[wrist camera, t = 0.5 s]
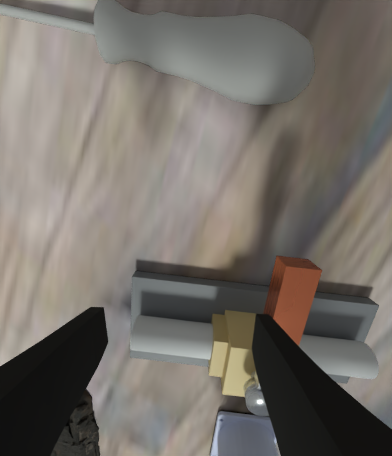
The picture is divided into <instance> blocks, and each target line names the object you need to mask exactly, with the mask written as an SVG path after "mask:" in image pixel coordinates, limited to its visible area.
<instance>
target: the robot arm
mask: <svg viewBox="0 0 392 456" xmlns="http://www.w3.org/2000/svg"><path fill="white" fill-rule="evenodd" d="M107 344H108V337H107V329H106V321H105V314H104V307H90V308H89V309H87V310H86V311H84V312H82V313H81V314H79V315H78V316H77V317H75V318H74V319H72V320H71V321H69V322H68V323H66V324H65V325H63V326H62V327H61V328H59V329H58V330H56V331H55V332H53V333H52V334H50V335H49V336H47V337H46V338H44V339H43V340H41V341H40V342H38V343H37V344H35V345H33V346H32V347H30V348H29V349H27V350H26V351H24V352H22V353H21V354H19V355H18V356H16V357H15V358H13V359H12V360H10V361H8V362H7V363H5V364H3V365H2V366H0V456H50V455H51V453H52V451H53V449H54V447H55V445H56V443H57V441H58V439H59V437H60V435H61V433H62V431H63V429H64V427H65V425H66V424H67V422H68V420H69V418H70V416H71V415H72V413H73V411H74V409H75V407H76V406H77V404H78V402H79V400H80V398H81V396H82V395H83V393H84V391H85V389H86V387H87V386H88V384H89V382H90V380H91V378H92V376H93V375H94V373H95V371H96V369H97V367H98V365H99V363H100V361H101V358H102V356H103V354H104V351H105V349H106V346H107ZM252 354H253V359H254V364H255V369H256V374H257V377H258V381H259V384H260V387H261V391H262V394H263V397H264V400H265V404H266V407H267V410H268V414H269V417H265V416H257V415H249V414H241V413H233V412H224V411H220V412H219V413H218V415H217V421H216V426H215V431H214V436H213V442H212V447H211V452H210V456H278V453H277V449H276V445H275V444H276V441H277V443H278V447H279V451H280V454H281V456H392V429H391V428H389V427H388V426H387V425H386V424H384V423H383V422H382V421H381V420H379V419H378V418H377V417H376V416H374V415H373V414H372V413H371V412H369V411H368V410H367V409H366V408H365V407H364V406H362V405H361V404H360V403H359V402H358V401H357V400H355V399H354V398H353V397H352V396H351V395H350V394H348V393H347V392H346V391H345V390H344V389H343V388H342V387H340V386H339V385H338V384H337V383H336V382H335V381H334V380H333V379H332V378H331V377H329V376H328V375H327V374H326V373H325V372H324V371H323V370H322V369H321V368H320V367H319V366H318V365H317V364H316V363H315V362H314V361H313V360H312V359H311V358H310V357H309V356H308V355H307V354H306V353H305V352H304V351H303V350H302V349H301V348H300V347H299V346H298V345H297V344H296V343H295V342H294V341H293V340H292V339H291V338H290V336H289V335H288V334H287V333H286V332H285V331H284V330H283V329H282V328H281V327H280V326H279V324H278V323H277V322H276V321H275V320H274V319H273V318H272V317H271V316H270V315H269V314H256V317H255V325H254V333H253V341H252Z"/></svg>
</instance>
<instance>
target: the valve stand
mask: <svg viewBox="0 0 392 456" xmlns="http://www.w3.org/2000/svg"><path fill="white" fill-rule="evenodd" d="M268 291H269V286H261V285H253V284H244V283H236V282H227V281H219V280H210V279H201V278H193V277H184V276H176V275H167V274H158V273H150V272H141V271H136V272H135V273H134V275H133V276H132V297H131V339H130V357H131V358H140V359H148V360H156V361H165V362H173V363H181V364H189V365H198V366H206V367H209V376H217V377H221V386H222V394H224V395H232V396H240V397H245V395H244V390H243V387H244V384H245V382H246V381H247V380H248V379H250V378H252V377H254V376H255V372H256V369H255V364H254V359H253V354H252V341H253V333H254V325H255V317H256V314H263V312H264V308H265V303H266V299H267V295H268ZM378 307H379V305H378V304H376V303H375V302H374V301H372V300H371V299H370V298H365V297H356V296H347V295H339V294H330V293H322V292H315V295H314V299H313V302H312V305H311V308H310V312H309V315H308V318H307V321H306V325H305V328H304V331H303V334H302V338H301V341H300V344H299V345H298V346H299V347H300V348H301V349H302V350H303V351H304V352H305V353H306V354H307V355H308V356H309V357H310V358H311V359H312V360H313V361H314V362H315V363H316V364H317V365H318V366H319V367H320V368H321V369H322V370H323V371H324V372H325V373H326V374H327V375H328V376H329V377H331V378H332V379H333V380H334V381H335V382H338V383H346V384H347V382H348V380H349V377H358V378H366V379H374V378H375V377H376V376H377V375H378V371H379V367H378V361H377V358H376V356H375V354H374V352H373V351H372V349H371V348H370V347H369V346H368V345H367V344H365V343H364V341H365V339H366V336H367V334H368V332H369V329H370V327H371V324H372V322H373V319H374V317H375V315H376V312H377V310H378Z"/></svg>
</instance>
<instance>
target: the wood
mask: <svg viewBox="0 0 392 456" xmlns="http://www.w3.org/2000/svg"><path fill="white" fill-rule="evenodd" d="M98 430H99V428H98V426H97V424H96V422H95V420H94V417H93V413H92V398H91V396H90V395H89V394H88V392H87V391H86V390H85V391H84V393H83V395H82V396H81V398H80V400H79V402H78V404H77V406H76V407H75V409H74V411H73V413H72V415H71V416H70V418H69V420H68V422H67V424H66V425H65V427H64V429H63V431H62V433H61V435H60V437H59V439H58V441H57V443H56V445H55V447H54V449H53V451H52V453H51V455H50V456H100V454H99V446H98V441H99V438H98Z"/></svg>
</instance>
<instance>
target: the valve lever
mask: <svg viewBox="0 0 392 456" xmlns="http://www.w3.org/2000/svg"><path fill="white" fill-rule="evenodd" d="M321 272H322V270H321V269H320V268H318V267H317V266H316V265H315V264H313V263H312V262H311V261H310V260H308V259H301V258H292V257H283V256H276V261H275V265H274V269H273V273H272V278H271V282H270V286H269V291H268V295H267V299H266V303H265V308H264V312H263V314H269V315H270V316H271V317H272V318H273V319H274V320H275V321H276V322H277V323H278V324H279V326H280V327H281V328H282V329H283V330H284V331H285V332H286V333H287V334H288V335H289V336H290V338H291V339H292V340H293V341H294V342H295V343H296V344H297V345H299V344H300V341H301V338H302V334H303V331H304V328H305V325H306V321H307V318H308V315H309V312H310V308H311V305H312V302H313V299H314V295H315V292H316V289H317V286H318V282H319V279H320V276H321ZM243 390H244V395H245V401H246V406H247V408H248V410H249V411H250V412H251V413H253V414H255V415H258V416H269V414H268V410H267V407H266V404H265V400H264V397H263V394H262V391H261V387H260V384H259V381H258V377H257V374H256V372H255V376H254V377H252V378H250V379H248V380H247V381H246V382H245V384H244V387H243Z"/></svg>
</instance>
